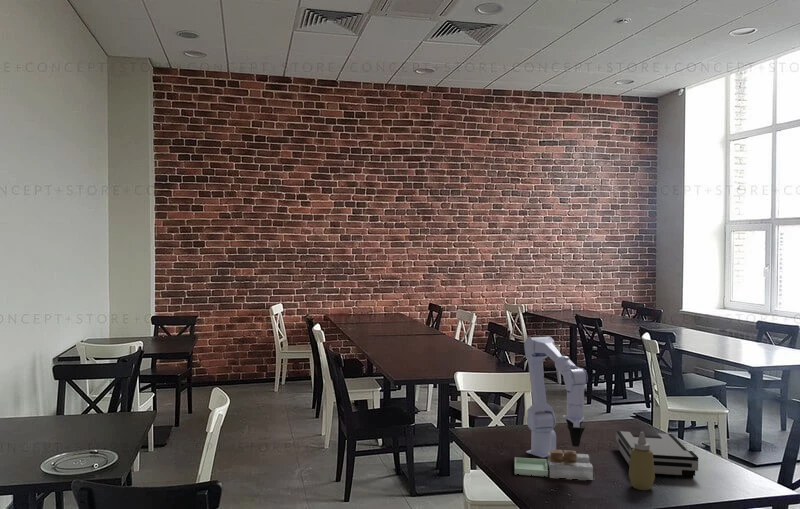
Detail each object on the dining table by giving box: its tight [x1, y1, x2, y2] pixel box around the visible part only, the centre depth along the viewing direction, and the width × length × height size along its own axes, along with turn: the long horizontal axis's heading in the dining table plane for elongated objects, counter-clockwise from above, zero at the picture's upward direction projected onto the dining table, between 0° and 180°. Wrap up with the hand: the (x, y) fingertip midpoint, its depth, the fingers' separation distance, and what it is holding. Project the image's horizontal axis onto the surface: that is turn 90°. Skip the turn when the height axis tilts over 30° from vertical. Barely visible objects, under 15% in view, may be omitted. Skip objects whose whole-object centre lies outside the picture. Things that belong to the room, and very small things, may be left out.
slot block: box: [547, 452, 594, 481], centre depth 217 cm, size 14×14×4 cm
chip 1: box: [550, 448, 564, 462], centre depth 217 cm, size 4×4×4 cm
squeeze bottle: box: [628, 431, 656, 491], centre depth 203 cm, size 8×8×18 cm
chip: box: [563, 449, 578, 463], centre depth 217 cm, size 4×4×4 cm
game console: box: [615, 430, 699, 479], centre depth 227 cm, size 21×32×8 cm, turn 171°
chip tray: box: [514, 456, 549, 478], centre depth 219 cm, size 11×12×2 cm
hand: (574, 443), depth 216 cm, fingers open, 7 cm apart
